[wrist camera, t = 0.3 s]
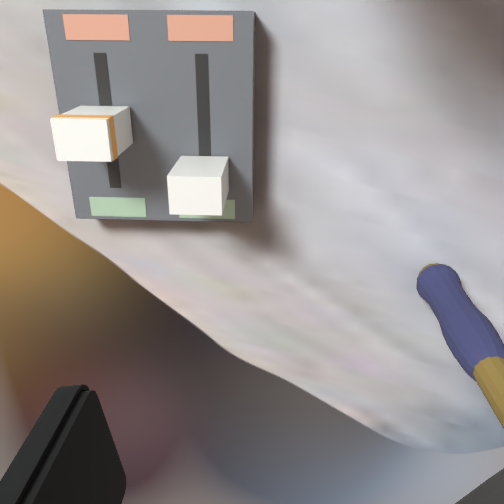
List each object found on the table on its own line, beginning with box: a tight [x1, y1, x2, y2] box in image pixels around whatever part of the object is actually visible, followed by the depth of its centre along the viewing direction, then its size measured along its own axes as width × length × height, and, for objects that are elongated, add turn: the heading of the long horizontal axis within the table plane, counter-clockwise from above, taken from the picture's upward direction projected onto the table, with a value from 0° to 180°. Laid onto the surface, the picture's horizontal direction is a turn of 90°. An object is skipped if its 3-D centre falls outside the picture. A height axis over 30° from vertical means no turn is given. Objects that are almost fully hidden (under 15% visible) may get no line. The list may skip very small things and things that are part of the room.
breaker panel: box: [43, 10, 255, 222], centre depth 39 cm, size 17×16×9 cm
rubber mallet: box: [417, 264, 504, 504], centre depth 35 cm, size 12×8×30 cm, turn 139°
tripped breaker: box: [50, 106, 133, 162], centre depth 37 cm, size 3×4×6 cm
